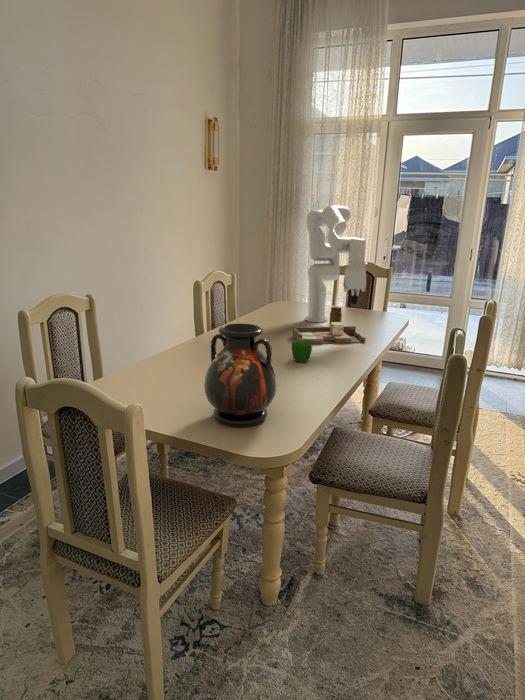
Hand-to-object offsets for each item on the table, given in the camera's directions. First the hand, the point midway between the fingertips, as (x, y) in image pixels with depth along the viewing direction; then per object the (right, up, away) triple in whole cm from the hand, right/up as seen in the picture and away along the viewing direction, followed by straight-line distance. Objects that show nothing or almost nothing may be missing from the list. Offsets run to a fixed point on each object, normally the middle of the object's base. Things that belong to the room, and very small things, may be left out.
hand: (353, 303), depth 237 cm
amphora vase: (-51, -43, -87) cm, 109 cm away
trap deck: (-11, -17, +1) cm, 21 cm away
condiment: (-6, -12, +20) cm, 24 cm away
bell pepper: (-28, -27, -31) cm, 50 cm away
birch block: (-8, -14, +3) cm, 17 cm away
